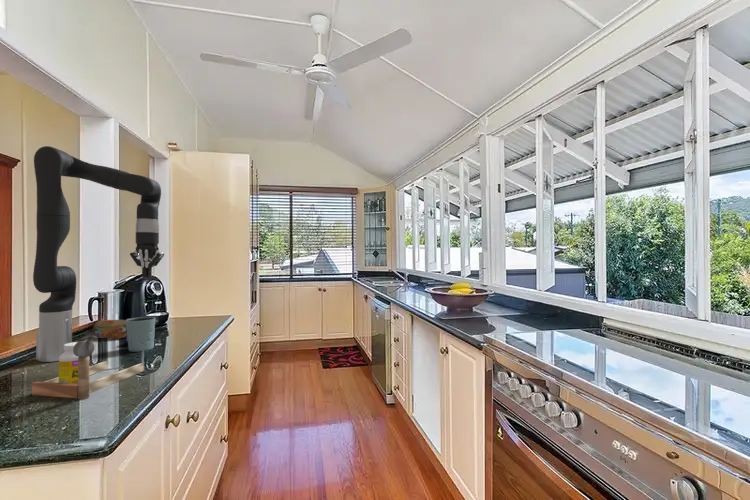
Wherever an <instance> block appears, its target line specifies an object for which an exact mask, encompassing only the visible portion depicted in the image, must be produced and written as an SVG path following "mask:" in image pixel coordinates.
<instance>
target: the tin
mask: <svg viewBox="0 0 750 500" xmlns="http://www.w3.org/2000/svg"><path fill="white" fill-rule="evenodd" d="M92 334H93V336H96V337H97V339H98V338H109V339H108V340H120V339H123V338H125V337H127V327H126V320H125V319H101V320H98V321H96V322H95V323H94V324H93V327H92ZM110 338H111V339H110ZM114 338H116V339H114Z"/></svg>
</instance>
